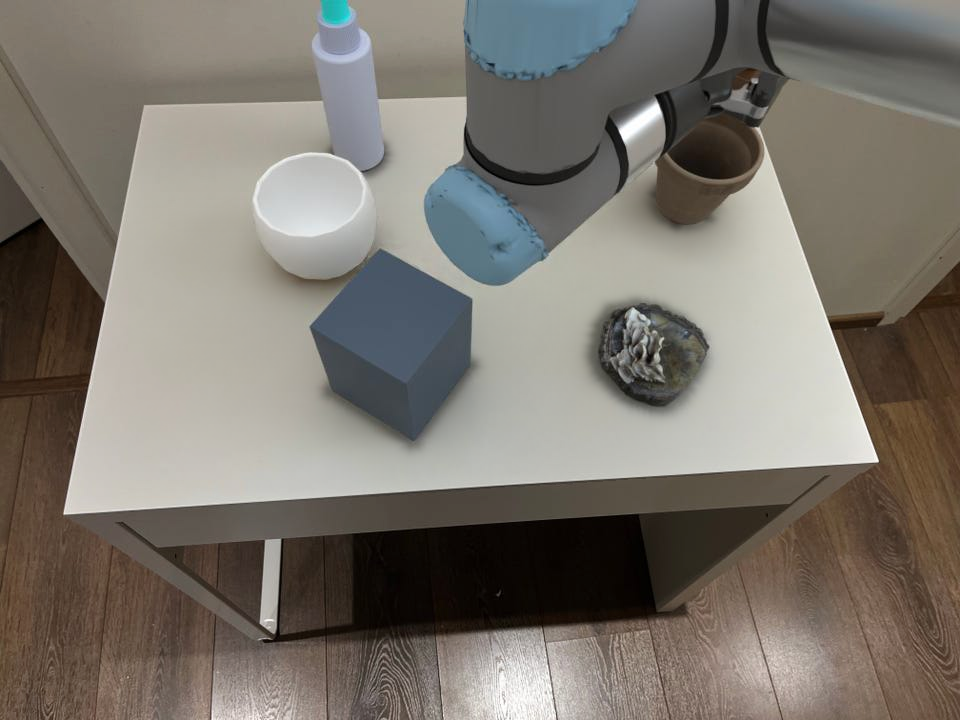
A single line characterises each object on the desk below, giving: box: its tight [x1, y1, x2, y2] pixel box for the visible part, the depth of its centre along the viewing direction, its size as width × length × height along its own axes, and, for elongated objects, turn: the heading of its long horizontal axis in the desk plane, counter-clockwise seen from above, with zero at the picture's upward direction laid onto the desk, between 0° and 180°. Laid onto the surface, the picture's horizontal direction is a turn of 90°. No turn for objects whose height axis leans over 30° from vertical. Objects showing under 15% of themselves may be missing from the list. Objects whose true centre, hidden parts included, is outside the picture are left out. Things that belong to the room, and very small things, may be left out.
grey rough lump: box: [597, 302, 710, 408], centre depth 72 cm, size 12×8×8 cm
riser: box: [309, 247, 474, 441], centre depth 65 cm, size 10×10×12 cm
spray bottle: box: [311, 0, 385, 172], centre depth 75 cm, size 6×6×22 cm
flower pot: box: [654, 113, 765, 225], centre depth 78 cm, size 12×11×10 cm
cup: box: [251, 151, 378, 281], centre depth 73 cm, size 12×12×10 cm
